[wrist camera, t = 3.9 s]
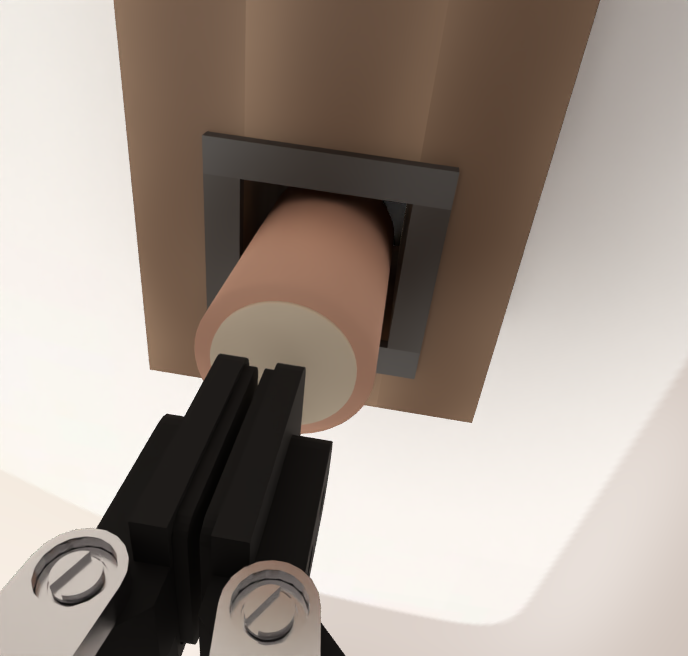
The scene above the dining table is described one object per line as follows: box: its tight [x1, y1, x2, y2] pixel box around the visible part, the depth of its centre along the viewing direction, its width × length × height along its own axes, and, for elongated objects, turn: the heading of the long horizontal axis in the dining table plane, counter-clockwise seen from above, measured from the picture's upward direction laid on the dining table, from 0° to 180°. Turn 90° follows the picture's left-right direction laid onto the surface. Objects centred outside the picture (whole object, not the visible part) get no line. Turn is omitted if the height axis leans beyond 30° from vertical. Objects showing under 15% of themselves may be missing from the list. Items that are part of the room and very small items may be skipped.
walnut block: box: [114, 0, 600, 423], centre depth 16 cm, size 11×22×7 cm, turn 174°
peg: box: [194, 186, 394, 434], centre depth 16 cm, size 4×4×7 cm
